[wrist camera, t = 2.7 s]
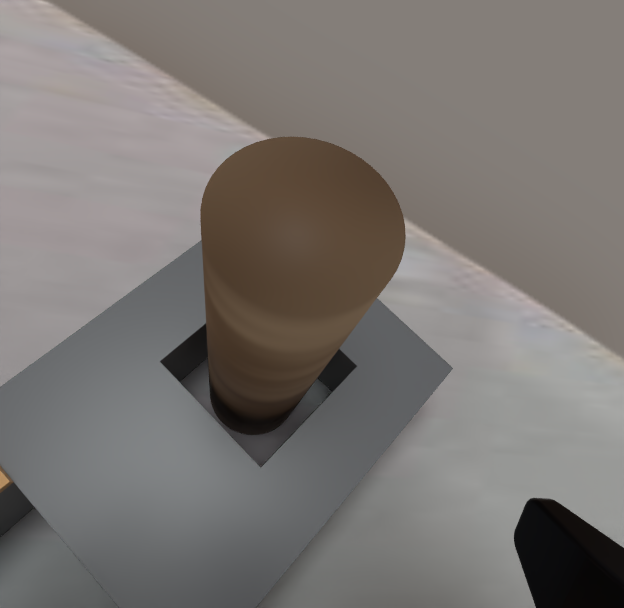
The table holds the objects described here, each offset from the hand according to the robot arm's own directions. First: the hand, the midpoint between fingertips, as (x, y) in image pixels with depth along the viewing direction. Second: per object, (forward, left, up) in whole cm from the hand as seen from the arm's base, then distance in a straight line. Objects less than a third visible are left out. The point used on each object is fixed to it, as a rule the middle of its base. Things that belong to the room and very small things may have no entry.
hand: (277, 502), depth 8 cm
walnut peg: (+3, -3, -11) cm, 12 cm away
